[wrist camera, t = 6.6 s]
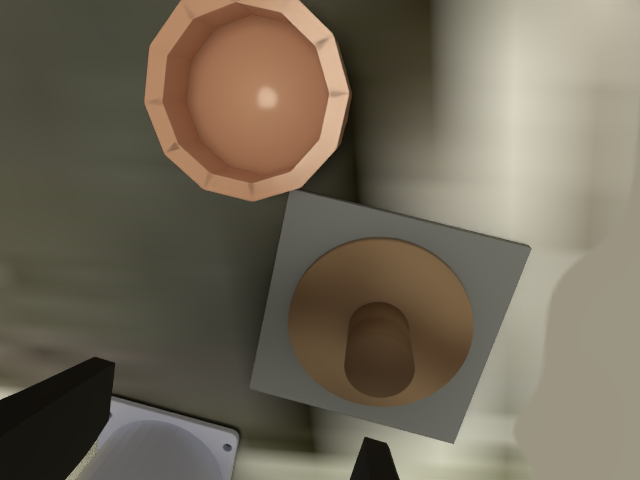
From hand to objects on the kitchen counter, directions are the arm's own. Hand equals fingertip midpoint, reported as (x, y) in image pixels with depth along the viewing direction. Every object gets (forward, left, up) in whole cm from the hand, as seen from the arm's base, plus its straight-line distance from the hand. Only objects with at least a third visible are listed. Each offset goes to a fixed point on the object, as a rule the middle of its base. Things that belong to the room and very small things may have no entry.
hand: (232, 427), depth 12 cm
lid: (-1, -4, -10) cm, 11 cm away
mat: (-1, -4, -10) cm, 11 cm away
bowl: (+8, +3, -10) cm, 13 cm away
